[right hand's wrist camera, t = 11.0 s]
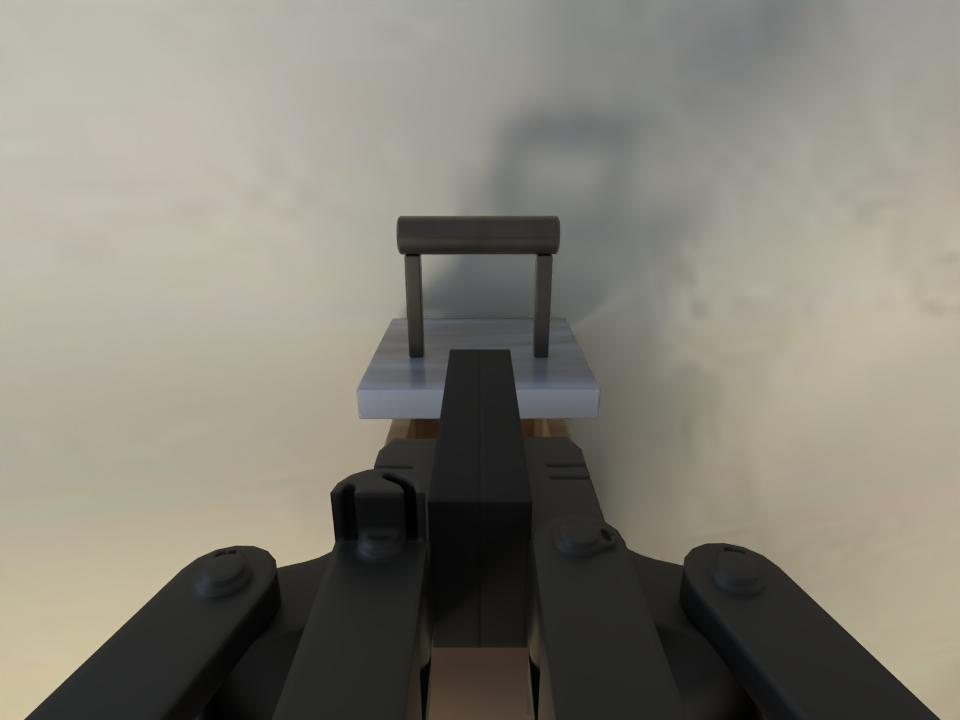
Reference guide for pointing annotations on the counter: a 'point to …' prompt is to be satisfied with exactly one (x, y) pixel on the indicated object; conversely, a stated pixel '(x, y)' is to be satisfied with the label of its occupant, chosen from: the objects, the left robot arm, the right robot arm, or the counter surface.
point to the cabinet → (479, 684)
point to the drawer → (477, 335)
